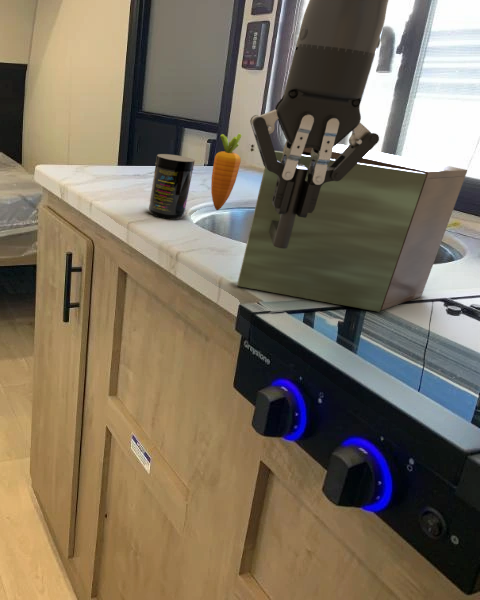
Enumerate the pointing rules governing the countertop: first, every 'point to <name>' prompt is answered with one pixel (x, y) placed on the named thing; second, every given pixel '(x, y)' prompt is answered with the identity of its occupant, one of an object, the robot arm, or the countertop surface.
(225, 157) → the carrot
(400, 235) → the cupboard door
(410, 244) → the cupboard
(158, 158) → the supplement container
